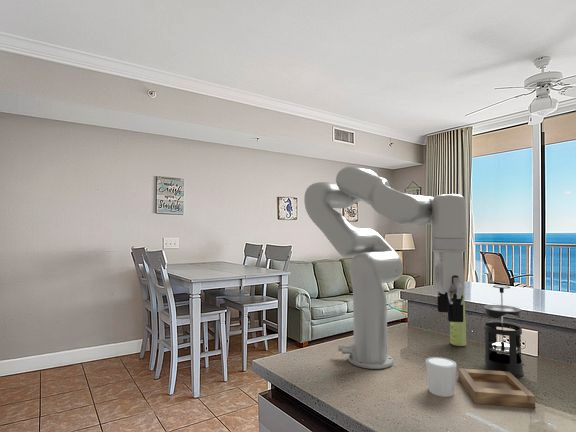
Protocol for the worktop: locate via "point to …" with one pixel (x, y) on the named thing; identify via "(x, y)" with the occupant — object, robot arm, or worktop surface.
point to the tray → (496, 388)
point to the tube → (458, 330)
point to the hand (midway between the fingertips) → (449, 316)
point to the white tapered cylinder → (441, 376)
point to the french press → (500, 360)
